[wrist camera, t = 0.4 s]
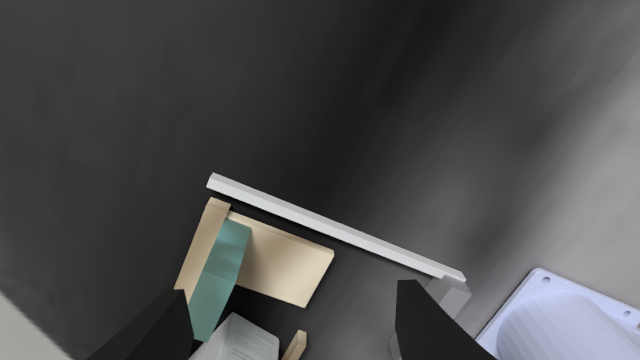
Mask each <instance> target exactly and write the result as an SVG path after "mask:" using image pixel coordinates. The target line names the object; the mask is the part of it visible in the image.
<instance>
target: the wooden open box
mask: <svg viewBox="0 0 640 360" xmlns="http://www.w3.org/2000/svg"><path fill="white" fill-rule="evenodd" d="M230 205H231V204H228V203H226V202H223V201H221V200H218V199H215V198H213V197H211V198H210V200H209V202H208V203H207V205H206V208H205V210H204V213H203V216H202V218H201V221H200V223H199V226H198V228H197V231H196V233H195V236H194V239H193V241H192V244H191V246H190V249H189V251H188V254H187V257H186V259H185V262H184V264H183V267H182V269H181V272H180V274H179V277H178V280H177V282H176V285H175V287H174V289H184V291H185V295H186V300H187V304H188V309H189V314H190V318H191V323H192V327H193V332H194V339H197V340H200V341H204V342H207V343H208V341H209V339H210V337H211V335H212V332H213V330H214V328H215V326H216V324H217V322H218V320H219V317H220V315H221V313H222V311H223V309H224V307H225V304H226V302H227V300H228V298H229V296H230V294H231V292H232V289H233V287H234V285H235V284H237V285H240V286H243V287H245V288H248V289H251V290H254V291H257V292H260V293H263V294H266V295H269V296H272V297H274V298H277V299H280V300H283V301H286V302H289V303H292V304H295V305H298V306H300V307H303V308H305V306H306V305H307V303H308V301H309V299H310V298H311V296H312V294H313V292H314V291H315V289H316V287H317V285H318V284H319V282H320V280H321V278H322V277H323V275H324V273H325V271H326V269H327V268H328V266H329V264H330V262H331V261H332V259H333V257H334V250H331V249H329V248H326V247H323V246H321V245H318V244H316V243H313V242H310V241H308V240H305V239H303V238H300V237H297V236H295V235H292V234H290V233H287V232H284V231H282V230H279V229H277V228H274V227H271V226H269V225H266V224H264V223H261V222H258V221H256V220H253V219H251V218H248V217H245V216H243V215H240V214H238V213H235V212H232V211H230V210H229V208H230ZM305 347H306V332H304V331H301V330H298V331H297V333H296V335H295V336H294V338H293V340H292V342H291V343H290V345H289V347H288V349H287V350H286V352H285V354H284V356H283V357H282V359H281V360H298V359H299V357H300V356H301V354H302V352H303V351H304V349H305Z"/></svg>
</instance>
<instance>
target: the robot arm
mask: <svg viewBox="0 0 640 360" xmlns="http://www.w3.org/2000/svg"><path fill="white" fill-rule="evenodd" d="M544 277H546V278H545V279H543V278H544ZM639 323H640V310H638V309H636V308H634V307H631V306H629V305H626V304H624V303H622V302H619V301H617V300H615V299H612V298H610V297H608V296H605V295H603V294H601V293H598V292H596V291H593V290H591V289H589V288H586V287H584V286H582V285H579V284H577V283H575V282H572V281H570V280H568V279H565V278H563V277H560V276H558V275H556V274H553V273H551V272H549V271H546V270H544V269H542V268H536V269H533V270H532V271H531V272H530V273H529V275H528V276H527V277H526V278H525V279H524V281H523V282H522V283H521V284H520V286H519V287H518V288H517V289H516V290H515V292H514V293H513V294H512V295H511V296H510V298H509V299H508V300H507V301H506V303H505V304H504V305H503V306H502V307H501V309H500V310H499V311H498V312H497V314H496V315H495V316H494V317H493V318H492V320H491V321H490V322H489V323H488V325H487V326H486V327H485V328H484V329H483V331H482V332H481V333H480V334H479V336H478V337H477V338H476V339H475V340H474V339H473V338H472V337H471V336H470V335H469V334H467V333H466V332H465V331H464V330H463V329H462V328H461V327H460V326H459V325H458V324H457V323H456V322H455V321H454V320H453V319H452V318H451V317H450V316H449V315H448V314H447V313H446V312H445V311H444V310H443V309H442V308H441V306H440V305H439V304H438V303H437V302H436V301H435V300H434V299H433V298H432V297H431V296H430V294H429V293H428V292H427V291H426V290H425V289H424V288H423V287H422V285H421V284H420V283H419V282H418V281H417V280H398V284H397V302H396V319H395V330H396V335H397V340H398V345H399V349H400V354H401V358H402V360H640V329H639V328H638V327H636V326H637V325H638V324H639ZM193 338H194V332H193V327H192V323H191V318H190V314H189V309H188V304H187V300H186V295H185V291H184V289H170V290H165V291H164V292H163V293H162V294H160V295H159V296H158V297H157V298H156V299H155V300H154V301H153V302H152V303H151V304H149V305H148V306H147V307H146V308H145V309H144V310H143V311H142V312H141V313H140V314H139V315H137V316H136V317H135V318H134V319H133V320H132V321H131V322H130V323H129V324H127V325H126V326H125V327H124V328H123V329H122V330H121V331H120V332H118V333H117V334H116V335H115V336H114V337H113V338H111V339H110V340H109V341H108V342H107V343H105V344H104V345H103V346H102V347H101V348H99V349H98V350H97V351H96V352H95V353H93V354H92V355H91V356H90V357H88V358H87V359H86V360H188V358H189V355H190V351H191V347H192V343H193Z"/></svg>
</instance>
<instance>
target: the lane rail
mask: <svg viewBox="0 0 640 360" xmlns="http://www.w3.org/2000/svg"><path fill="white" fill-rule="evenodd" d="M206 187H208V188H210V189H213V190H215V191H218V192H220V193H223V194H226V195H228V196H231V197H233V198H236V199H238V200H241V201H243V202H246V203H249V204H251V205H254V206H256V207H259V208H261V209H264V210H266V211H269V212H272V213H274V214H277V215H279V216H282V217H284V218H287V219H289V220H292V221H294V222H297V223H300V224H302V225H305V226H307V227H310V228H312V229H315V230H317V231H320V232H323V233H325V234H328V235H330V236H333V237H335V238H338V239H340V240H343V241H345V242H348V243H351V244H353V245H356V246H358V247H361V248H363V249H366V250H368V251H371V252H374V253H376V254H379V255H381V256H384V257H386V258H389V259H391V260H394V261H397V262H399V263H402V264H404V265H407V266H409V267H412V268H414V269H417V270H419V271H422V272H425V273H427V274H430V275H432V276H434V277H433V278H432V279H431V281H430V282H429V284H428V285H427V287H426V288H425V290H426V291H427V292H428V293H429V294H430V296H431V297H432V298H433V299H434V300H435V301H436V302H437V303H438V304H439V305H440V306H441V308H442V309H443V310H444V311H445V312H446V313H447V314H448V315H449V316H450V317H451V318H452V319H454V318H455V317H456V315H457V314H458V313H459V311H460V310H461V309H462V307H463V306H464V305H465V304H466V302H467V301H468V300H469V298H470V297H471V296H472V294H471V292H470V290H469V289H468V287H467V285H466V284H465V281H466V279H465V277H464V275H463V274H462V272H460V271H458V270H455V269H453V268H450V267H448V266H445V265H443V264H440V263H438V262H435V261H433V260H430V259H428V258H425V257H423V256H420V255H418V254H415V253H413V252H410V251H408V250H405V249H403V248H400V247H398V246H395V245H393V244H390V243H388V242H385V241H383V240H380V239H378V238H375V237H373V236H370V235H368V234H365V233H363V232H360V231H358V230H355V229H353V228H350V227H348V226H345V225H343V224H340V223H338V222H335V221H333V220H330V219H328V218H325V217H323V216H320V215H318V214H315V213H313V212H310V211H308V210H305V209H303V208H300V207H298V206H296V205H293V204H291V203H288V202H286V201H283V200H281V199H278V198H276V197H273V196H271V195H268V194H266V193H263V192H261V191H258V190H256V189H253V188H251V187H248V186H246V185H243V184H241V183H238V182H236V181H233V180H231V179H228V178H226V177H223V176H221V175H218V174H216V173H213V174H212V175H211V177H210V179H209V181H208V184H207V186H206ZM388 342H389V346H390V350H391V354H392V358H393V360H402V358H401V354H400V349H399V345H398V340H397V335H396V331H395V332H394V333H393V335H392V336H391V338H390V339H389V341H388Z"/></svg>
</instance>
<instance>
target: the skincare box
mask: <svg viewBox="0 0 640 360" xmlns="http://www.w3.org/2000/svg"><path fill="white" fill-rule="evenodd" d="M278 354H279V339H278V338H277V337H275V336H274V335H272V334H270V333H268V332H267V331H265V330H263V329H261V328H260V327H258V326H256V325H255V324H253V323H251V322H250V321H248V320H246V319H245V318H243V317H241V316H240V315H238V314H236V313H234V312H233V313H231V314H230V315H229V316H228V318H227V319H226V320H225V321H224V322H223V323H222V324H221V325H220V326H219V327H218V328H217V329H216V330H215V331H214V332H213V333H212V335H211V337H210V339H209V341H208V343H207V342H204V343H203V344H202V345H201V346H200V347H199V348H198V350H197V351H196V352H195V353H194V354H193V355H192V356H191V357H190V358H189V359H188V360H278Z"/></svg>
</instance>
